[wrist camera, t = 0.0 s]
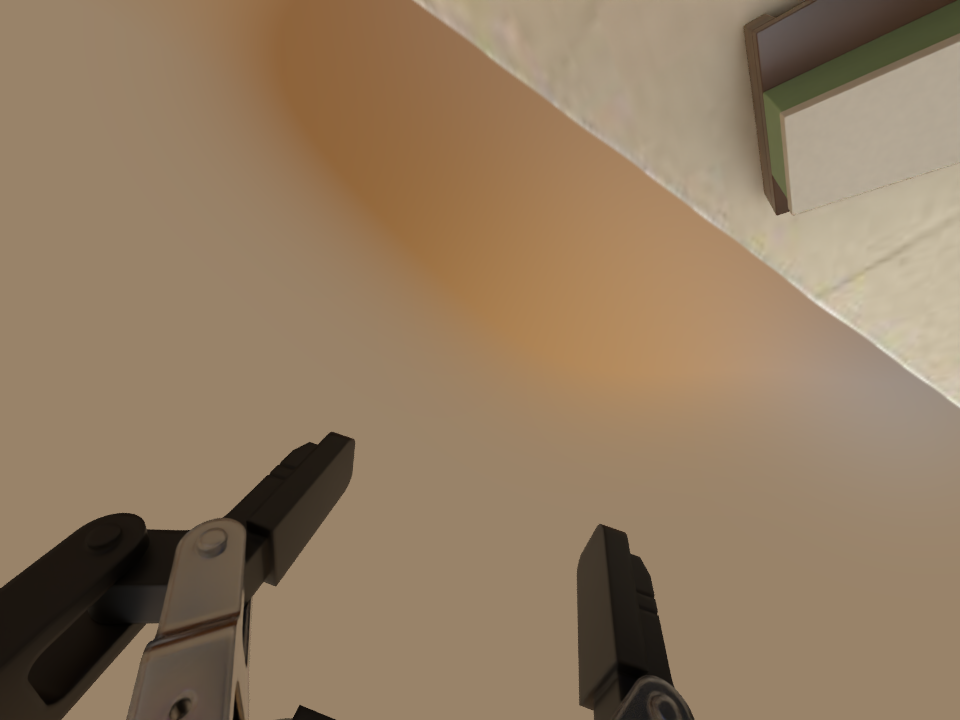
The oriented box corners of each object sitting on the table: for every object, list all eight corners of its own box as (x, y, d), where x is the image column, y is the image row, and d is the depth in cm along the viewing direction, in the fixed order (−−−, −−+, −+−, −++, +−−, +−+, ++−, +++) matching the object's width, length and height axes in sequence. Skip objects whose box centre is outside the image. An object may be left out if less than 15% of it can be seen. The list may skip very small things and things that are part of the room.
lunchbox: (759, 91, 23) (783, 117, 19) (1024, -36, 18) (1134, -35, 14) (769, 178, 26) (792, 216, 22) (998, 93, 21) (1083, 123, 17)
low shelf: (743, 25, 24) (755, 33, 22) (980, -110, 19) (1036, -122, 16) (764, 194, 31) (776, 216, 28) (947, 129, 25) (983, 148, 22)
